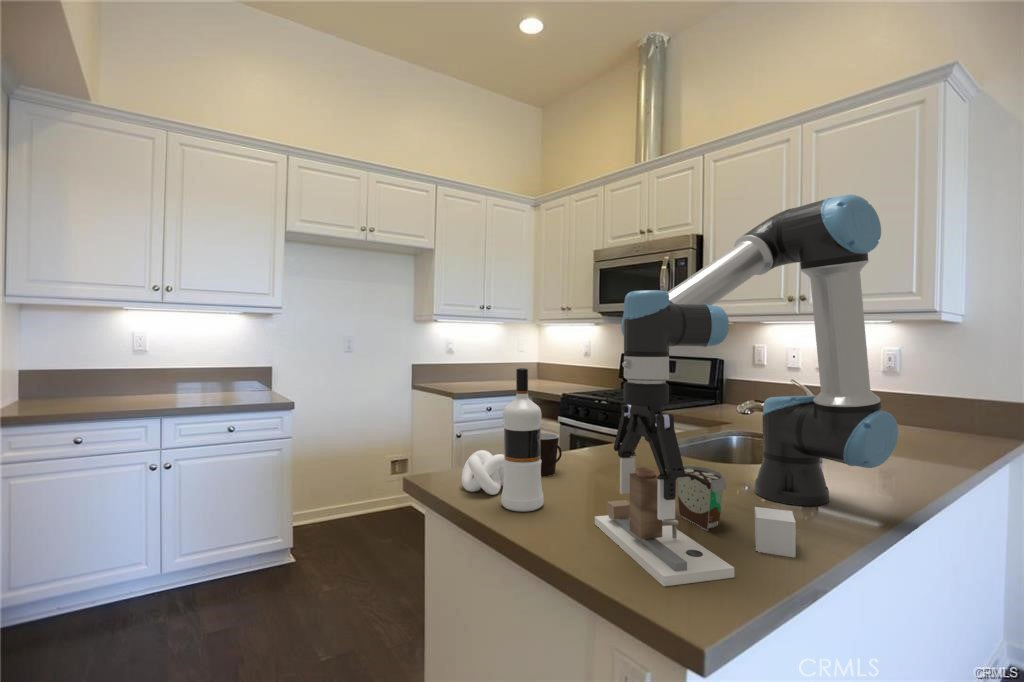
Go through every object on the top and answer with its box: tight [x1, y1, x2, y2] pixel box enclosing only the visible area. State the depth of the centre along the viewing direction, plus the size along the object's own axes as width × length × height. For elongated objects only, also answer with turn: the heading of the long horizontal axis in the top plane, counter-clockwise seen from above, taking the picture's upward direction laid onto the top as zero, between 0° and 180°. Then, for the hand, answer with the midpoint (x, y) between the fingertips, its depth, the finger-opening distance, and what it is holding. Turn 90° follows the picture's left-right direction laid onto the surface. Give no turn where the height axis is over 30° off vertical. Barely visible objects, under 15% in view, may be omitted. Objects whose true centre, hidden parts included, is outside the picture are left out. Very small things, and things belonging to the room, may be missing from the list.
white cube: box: [754, 506, 797, 558], centre depth 90 cm, size 6×6×6 cm
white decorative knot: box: [461, 449, 504, 496], centre depth 124 cm, size 11×12×9 cm
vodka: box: [500, 367, 545, 513], centre depth 112 cm, size 9×9×30 cm
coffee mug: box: [541, 432, 563, 477], centre depth 138 cm, size 12×9×10 cm
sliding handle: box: [629, 467, 679, 539], centre depth 89 cm, size 8×4×12 cm, turn 104°
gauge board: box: [594, 499, 735, 587], centre depth 90 cm, size 12×26×5 cm, turn 14°
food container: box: [676, 465, 727, 533], centre depth 103 cm, size 12×6×10 cm, turn 16°
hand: (645, 505), depth 89 cm, fingers open, 13 cm apart
